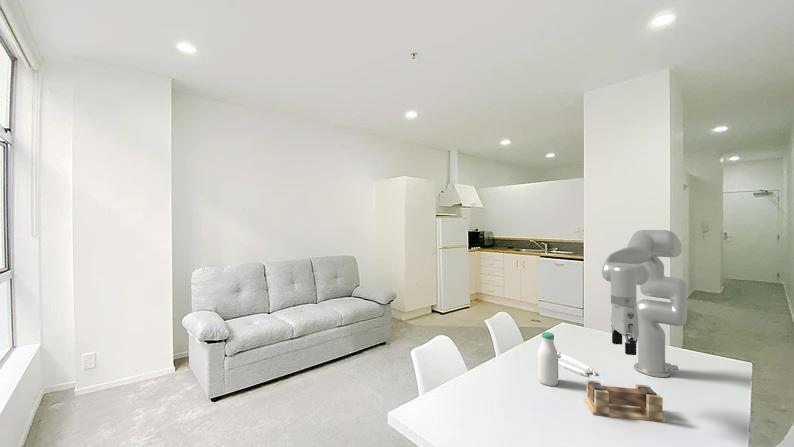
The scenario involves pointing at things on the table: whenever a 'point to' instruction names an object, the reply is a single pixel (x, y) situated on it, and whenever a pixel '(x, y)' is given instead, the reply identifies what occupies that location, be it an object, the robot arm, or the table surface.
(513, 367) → the table surface
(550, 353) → the milk bottle
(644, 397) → the rail
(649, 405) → the wooden cradle stand
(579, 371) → the door handle
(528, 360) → the table surface
